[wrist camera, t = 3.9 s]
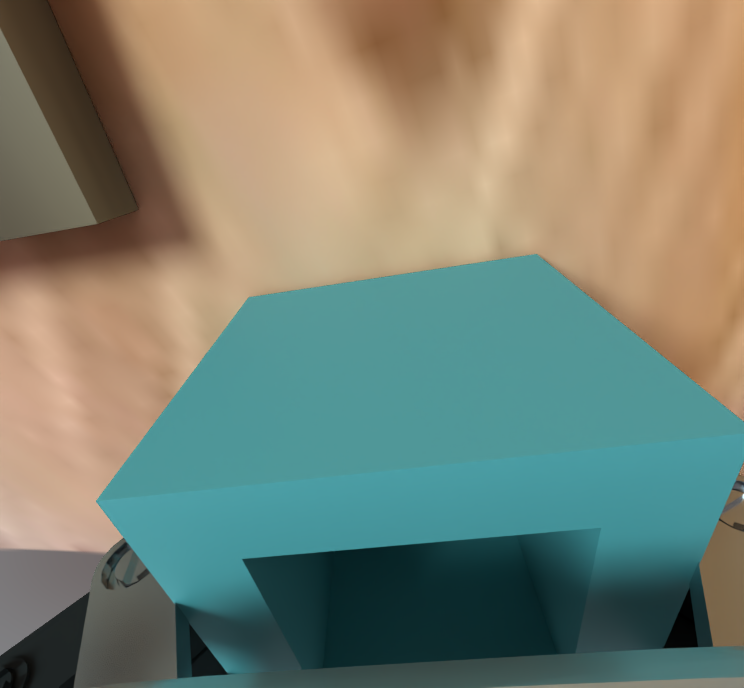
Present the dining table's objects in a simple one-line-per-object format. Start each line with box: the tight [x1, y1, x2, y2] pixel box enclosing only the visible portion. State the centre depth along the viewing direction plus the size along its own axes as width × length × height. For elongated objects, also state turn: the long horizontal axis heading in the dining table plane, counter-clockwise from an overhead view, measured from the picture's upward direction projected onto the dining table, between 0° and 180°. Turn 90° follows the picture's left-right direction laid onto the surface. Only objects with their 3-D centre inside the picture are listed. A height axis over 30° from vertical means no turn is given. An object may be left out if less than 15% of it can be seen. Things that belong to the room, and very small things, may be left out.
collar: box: [96, 254, 744, 674], centre depth 8 cm, size 7×7×6 cm
